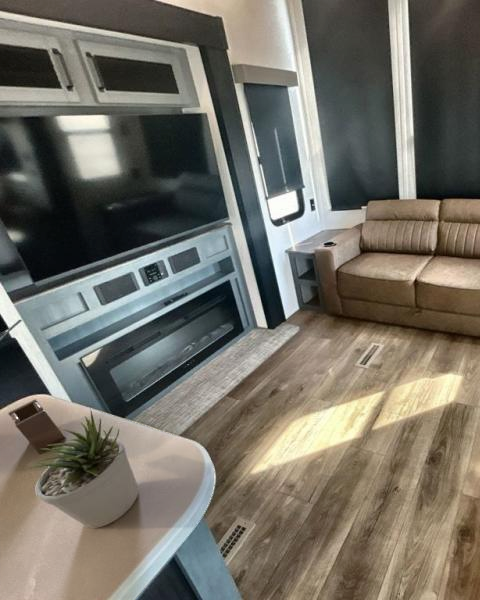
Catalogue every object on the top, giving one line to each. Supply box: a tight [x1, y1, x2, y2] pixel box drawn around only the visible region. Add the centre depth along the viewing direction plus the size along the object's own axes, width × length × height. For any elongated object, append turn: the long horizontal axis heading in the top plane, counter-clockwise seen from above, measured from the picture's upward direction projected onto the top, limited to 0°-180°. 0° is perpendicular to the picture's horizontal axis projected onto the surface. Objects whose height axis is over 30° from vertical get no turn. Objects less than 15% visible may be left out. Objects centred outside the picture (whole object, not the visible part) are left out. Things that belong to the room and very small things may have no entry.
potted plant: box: [28, 409, 139, 529], centre depth 64 cm, size 13×14×20 cm
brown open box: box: [8, 398, 67, 455], centre depth 85 cm, size 8×5×9 cm, turn 54°
